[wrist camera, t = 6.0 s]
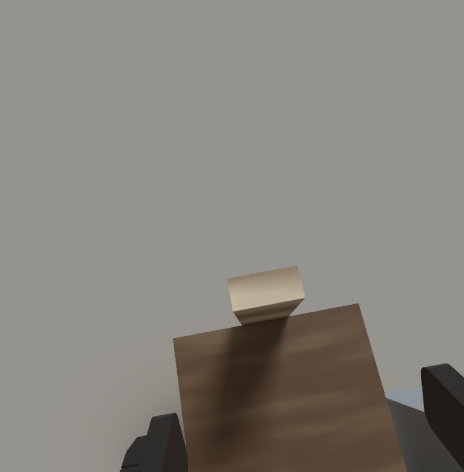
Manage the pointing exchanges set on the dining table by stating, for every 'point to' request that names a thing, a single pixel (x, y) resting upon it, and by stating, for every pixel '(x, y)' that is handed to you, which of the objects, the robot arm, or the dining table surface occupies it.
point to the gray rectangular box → (418, 434)
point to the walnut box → (286, 397)
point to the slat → (266, 295)
